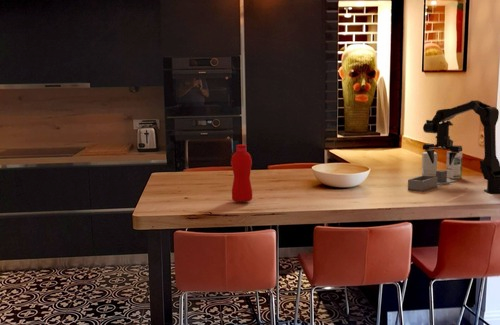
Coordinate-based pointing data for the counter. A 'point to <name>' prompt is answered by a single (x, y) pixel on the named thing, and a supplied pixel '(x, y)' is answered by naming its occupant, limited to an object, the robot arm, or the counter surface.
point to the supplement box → (429, 164)
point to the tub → (422, 183)
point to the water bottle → (241, 174)
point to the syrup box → (454, 166)
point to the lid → (443, 177)
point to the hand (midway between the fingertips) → (441, 164)
